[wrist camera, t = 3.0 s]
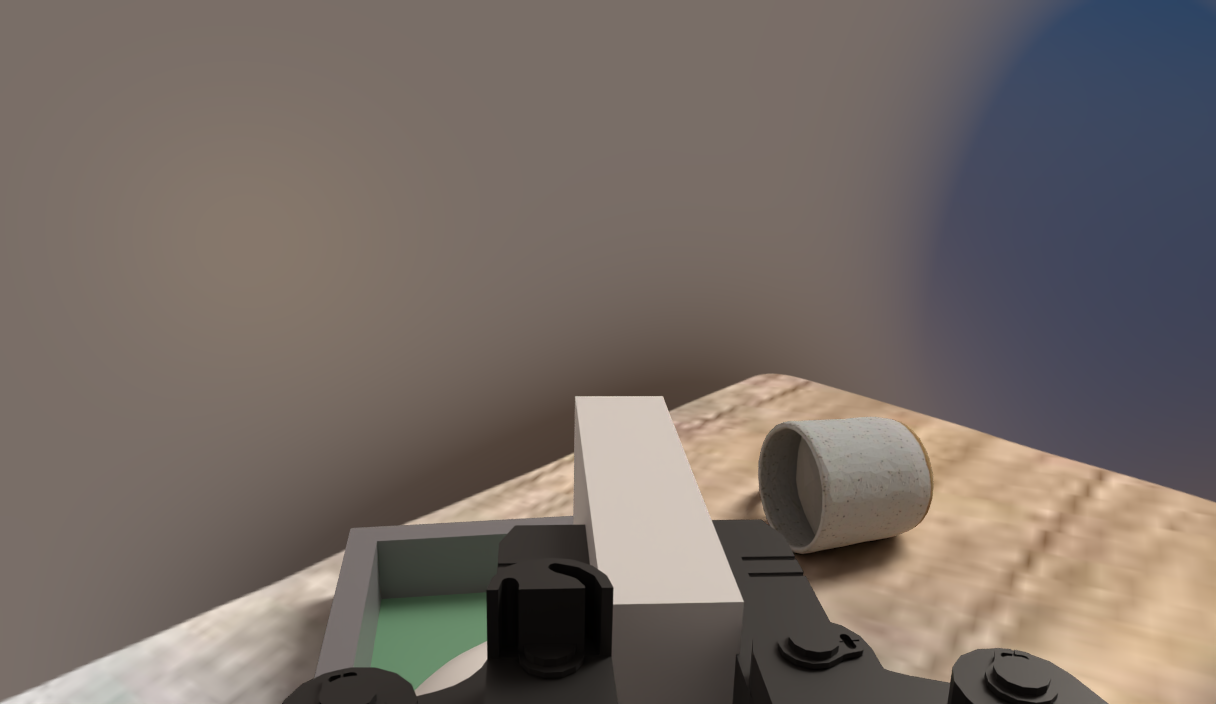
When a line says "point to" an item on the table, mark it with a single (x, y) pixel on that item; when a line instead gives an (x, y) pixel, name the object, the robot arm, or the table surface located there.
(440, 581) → the grey open tray
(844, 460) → the ceramic mug
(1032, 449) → the table surface
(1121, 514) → the table surface
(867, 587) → the table surface
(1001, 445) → the table surface
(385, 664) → the green mat
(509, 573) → the robot arm
